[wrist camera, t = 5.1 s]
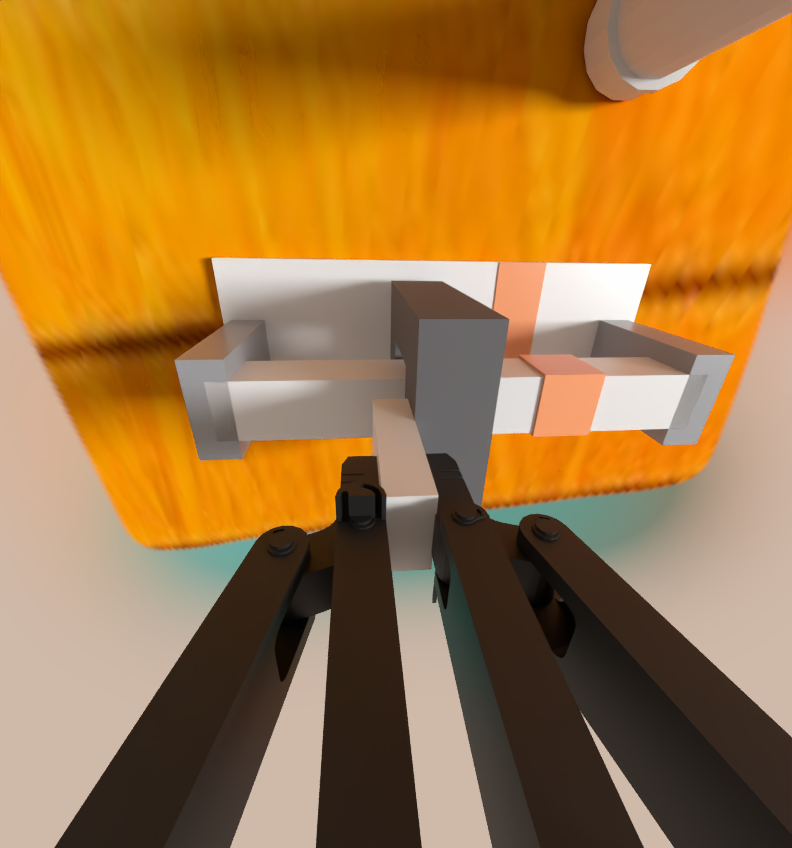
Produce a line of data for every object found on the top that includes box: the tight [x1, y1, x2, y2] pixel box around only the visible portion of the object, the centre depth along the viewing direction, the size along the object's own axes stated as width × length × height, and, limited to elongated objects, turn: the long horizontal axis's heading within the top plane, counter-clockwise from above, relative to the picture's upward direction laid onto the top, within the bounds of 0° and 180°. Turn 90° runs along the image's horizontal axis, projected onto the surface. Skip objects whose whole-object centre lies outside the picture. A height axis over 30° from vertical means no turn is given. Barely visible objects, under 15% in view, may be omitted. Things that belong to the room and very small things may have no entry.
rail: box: [174, 257, 735, 460], centre depth 22 cm, size 12×27×9 cm, turn 89°
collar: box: [390, 281, 510, 507], centre depth 19 cm, size 10×3×11 cm, turn 179°
